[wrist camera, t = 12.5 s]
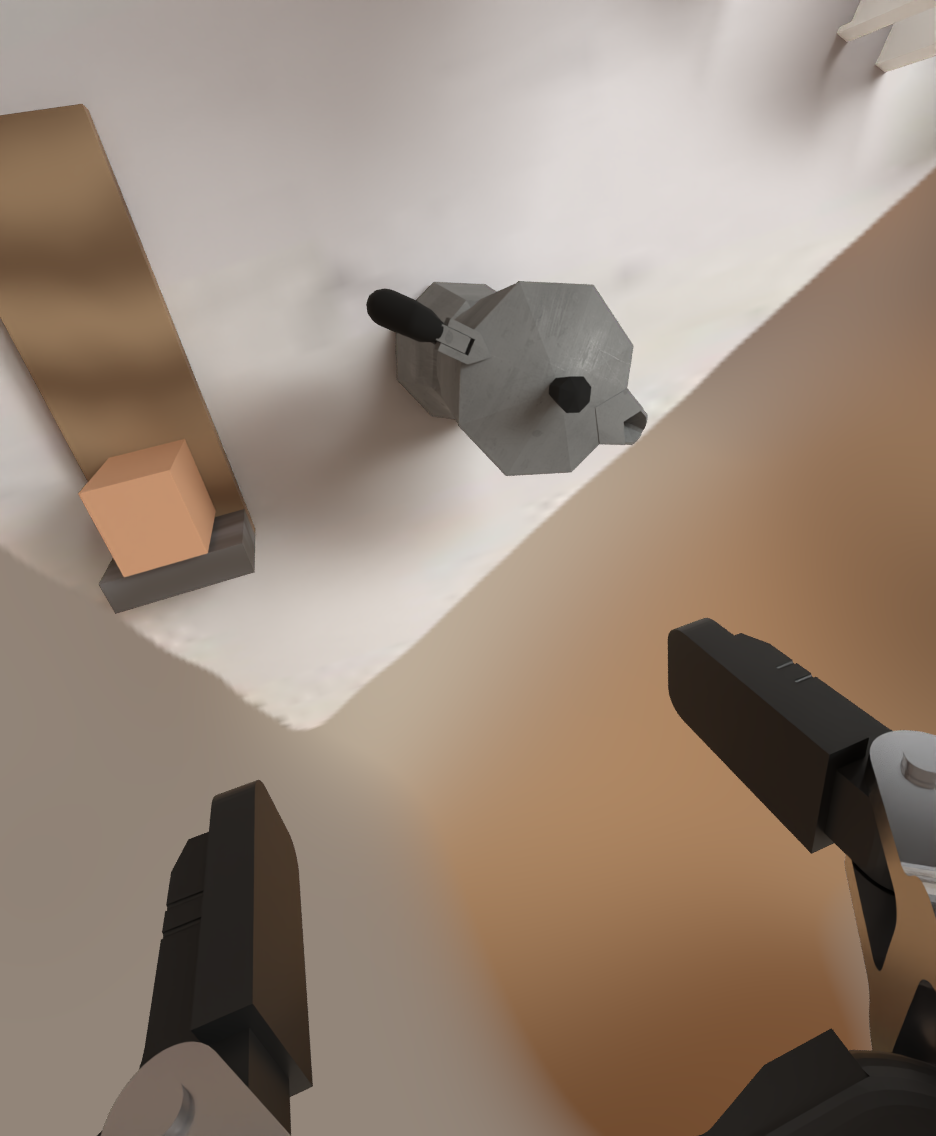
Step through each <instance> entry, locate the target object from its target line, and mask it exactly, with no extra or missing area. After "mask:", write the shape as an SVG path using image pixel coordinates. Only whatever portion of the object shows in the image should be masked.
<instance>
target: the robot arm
mask: <svg viewBox="0 0 936 1136" xmlns="http://www.w3.org/2000/svg"><path fill="white" fill-rule="evenodd" d="M668 689H669V695H670V698H671V701H672V704H673V706H674V708H675V710H676V711H677V713H678V714H679V716H680V717H681V718H682V719H683V721H684V722H685V723H686V724H687V725H688V726H689V727H690V728H691V729H692V730H693V731H694V732H695V733H696V734H697V735H698V736H699V737H700V738H701V739H702V740H703V741H704V742H705V743H706V745H707V746H708V747H710V749H711V750H712V751H713V752H714V753H715V754H716V755H717V756H718V757H719V758H720V759H721V760H722V761H723V762H724V763H725V764H726V765H727V766H728V767H729V768H730V770H732V772H733V773H734V774H735V775H736V776H737V777H738V778H739V779H740V780H741V781H742V782H743V783H744V784H745V785H746V786H747V787H748V788H749V789H750V790H751V791H752V792H753V793H754V794H755V796H756V797H757V798H758V799H759V800H760V801H761V802H762V803H763V804H764V805H765V806H766V807H767V808H768V809H769V810H770V811H771V812H772V813H773V814H774V815H775V816H776V817H777V818H778V819H779V820H780V822H781V823H782V824H783V825H784V826H785V827H786V828H787V829H788V830H789V831H790V832H791V833H792V834H793V835H794V836H795V837H796V838H797V839H798V840H799V841H800V842H801V843H802V844H803V845H804V846H805V847H806V849H807V850H808V851H809V852H810V853H814V852H816V851H818V850H820V849H823V848H825V847H827V846H829V845H831V844H833V843H835V844H836V845H837V846H838V847H839V848H840V849H841V850H842V851H843V852H844V853H845V854H846V856H845V871H846V875H847V880H848V885H849V890H850V895H851V900H852V904H853V909H854V914H855V919H856V924H857V929H858V934H859V938H860V943H861V948H862V953H863V958H864V963H865V968H866V973H867V978H868V985H869V1027H870V1038H871V1045H872V1051H867V1050H849V1051H848V1049H847V1048H846V1047H845V1045H844V1044H843V1043H842V1041H841V1040H840V1039H839V1038H838V1036H837V1035H836V1034H835V1032H834V1031H833V1030H832V1029H829V1030H828V1031H826V1032H824V1033H822V1034H820V1035H819V1036H817V1037H815V1038H813V1039H811V1040H809V1041H808V1042H806V1043H804V1044H802V1045H800V1046H798V1047H797V1048H795V1049H793V1050H791V1051H789V1052H787V1053H785V1054H784V1055H782V1056H780V1057H778V1058H776V1059H774V1060H773V1061H771V1062H769V1063H767V1064H765V1065H764V1066H763V1067H762V1068H761V1069H760V1071H759V1072H758V1073H757V1074H756V1075H755V1077H754V1078H753V1079H752V1080H751V1081H750V1083H749V1084H748V1085H747V1086H746V1087H745V1088H744V1090H743V1091H742V1092H741V1093H740V1094H739V1096H738V1097H737V1098H736V1099H735V1100H734V1102H733V1103H732V1104H731V1105H730V1106H729V1108H728V1109H727V1110H726V1111H725V1112H724V1114H723V1115H722V1116H721V1117H720V1119H719V1120H718V1121H717V1122H716V1123H715V1124H714V1126H713V1127H712V1128H711V1129H710V1130H709V1131H708V1132H706V1133H704V1134H702V1135H699V1136H936V736H935V735H932V734H928V733H923V732H918V731H908V730H902V731H901V730H900V731H892V730H890V729H889V728H887V727H886V726H884V725H883V724H881V723H880V722H879V721H877V720H875V719H874V718H873V717H872V716H870V715H869V714H867V713H866V712H865V711H863V710H862V709H860V708H859V707H858V706H856V705H855V704H853V703H852V702H851V701H849V700H848V699H846V698H845V697H844V696H842V695H841V694H839V693H838V692H836V691H835V690H834V689H832V688H831V687H830V686H828V685H827V684H825V683H824V682H823V681H821V680H820V679H818V678H817V677H814V678H813V677H812V675H811V673H810V672H809V671H807V670H806V669H804V668H803V667H801V666H800V665H799V664H797V663H796V664H794V663H793V661H792V659H790V658H789V657H787V656H786V655H785V654H783V653H782V652H780V651H779V650H778V649H776V648H775V647H773V646H772V645H771V644H769V643H766V642H764V641H761V640H758V639H755V638H753V637H750V636H747V635H744V634H742V633H740V634H737V635H735V636H734V635H733V634H731V633H730V632H728V631H727V630H726V629H725V628H723V627H722V626H720V625H719V624H718V623H717V622H715V621H714V620H712V619H710V618H704V619H701V620H698V621H695V622H692V623H690V624H687V625H684V626H681V627H679V628H676V629H674V630H671V631H670V633H669V636H668ZM166 905H167V911H165V917H164V923H163V930H162V933H163V939H162V940H161V943H160V950H159V957H158V963H157V970H156V977H155V983H154V990H153V997H152V1003H151V1010H150V1016H149V1023H148V1030H147V1037H146V1043H145V1049H144V1054H143V1058H142V1062H141V1065H140V1068H139V1070H138V1071H137V1072H136V1073H135V1075H134V1076H133V1077H132V1078H131V1079H130V1081H129V1082H128V1083H127V1084H126V1086H125V1087H124V1088H123V1090H122V1091H121V1093H120V1094H119V1096H118V1098H117V1099H116V1101H115V1103H114V1104H113V1106H112V1108H111V1110H110V1112H109V1115H108V1117H107V1119H106V1122H105V1124H104V1126H103V1130H102V1131H101V1132H100V1133H99V1134H98V1135H97V1136H291V1123H290V1122H291V1120H290V1097H291V1096H293V1095H295V1094H298V1093H299V1092H302V1091H304V1090H306V1089H308V1088H310V1087H312V1086H313V1083H312V1068H311V1052H310V1037H309V1021H308V1006H307V991H306V975H305V961H304V944H303V929H302V913H301V899H300V883H299V869H298V863H297V857H296V853H295V849H294V845H293V842H292V839H291V837H290V835H289V832H288V830H287V829H286V826H285V824H284V823H283V821H282V819H281V817H280V815H279V813H278V811H277V809H276V807H275V805H274V803H273V801H272V799H271V797H270V795H269V794H268V791H267V789H266V788H265V786H264V784H263V783H262V782H261V781H260V780H256V781H254V782H251V783H248V784H245V785H243V786H240V787H237V788H235V789H232V790H229V791H226V792H224V793H221V794H218V795H216V796H215V797H214V798H213V800H212V806H211V816H210V827H209V832H207V833H204V834H202V835H199V836H196V837H194V838H191V839H189V840H188V841H187V843H186V845H185V847H184V849H183V851H182V853H181V855H180V857H179V858H178V860H177V862H176V864H175V866H174V868H173V870H172V872H171V878H170V884H169V890H168V897H167V904H166Z"/></svg>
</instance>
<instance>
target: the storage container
mask: <svg viewBox="0 0 936 1136" xmlns="http://www.w3.org/2000/svg"><path fill="white" fill-rule="evenodd" d="M891 24H893V27H892V29H891V31H890V33H889V35H888V38H887V40H886V42H885V44H884V46H883V49H882V51H881V53H880V55H879V58H878V60H877V62H876V64H875V65H876V66H878V67H879V68H880V69H881V70H883V71H884V72H888V71H891V70H894V69H897V68H900V67H903V66H906V65H909V64H912V63H915V62H918V61H921V60H924V59H927V58H930V57H933V56H936V0H861V1H860V3H859V5H858V7H857V10H856V12H855V14H854V17H853V19H852V21H851V22H849V23H847V24H845V25H843V26H840V27H839V30H838V32H837V34H838V35H839V36H840V37H842V38H843V39H844V40H845V41H846V42H849V41H852V40H854V39H857V38H859V37H862V36H864V35H867V34H869V33H872V32H874V31H876V30H879V29H881V28H884V27H886V26H889V25H891Z"/></svg>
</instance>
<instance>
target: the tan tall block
mask: <svg viewBox="0 0 936 1136" xmlns="http://www.w3.org/2000/svg"><path fill="white" fill-rule="evenodd" d="M78 494H79V496H80V498H81V500H82V502H83V503H84V505H85V507H86V509H87V511H88V513H89V514H90V516H91V518H92V520H93V522H94V523H95V525H96V527H97V529H98V531H99V533H100V534H101V536H102V538H103V540H104V542H105V544H106V545H107V547H108V549H109V551H110V553H111V555H112V556H113V558H114V560H115V562H116V564H117V566H118V567H119V569H120V571H121V573H122V575H123V576H124V577H127V576H131V575H134V574H138V573H141V572H145V571H148V570H152V569H155V568H158V567H162V566H165V565H169V564H172V563H176V562H179V561H183V560H186V559H190V558H193V557H197V556H200V555H204V554H207V553H208V549H209V544H210V539H211V534H212V529H213V523H214V518H215V513H216V510H215V508H214V506H213V503H212V501H211V499H210V496H209V494H208V492H207V489H206V487H205V485H204V482H203V480H202V478H201V475H200V473H199V471H198V468H197V466H196V464H195V461H194V459H193V457H192V454H191V452H190V450H189V447H188V445H187V443H186V440H185V439H182V440H178V441H174V442H170V443H166V444H162V445H158V446H154V447H150V448H146V449H142V450H138V451H134V452H130V453H126V454H122V455H118V456H114V457H110V458H108V459H107V461H106V462H105V463H104V464H103V465H102V466H101V468H100V469H99V470H98V471H97V472H96V473H95V475H94V476H93V477H92V478H91V479H90V480H89V482H88V483H87V484H86V485H85V486H84V487H83V489H82V490H81V491H80V492H79V493H78Z"/></svg>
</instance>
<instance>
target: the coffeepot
mask: <svg viewBox="0 0 936 1136" xmlns="http://www.w3.org/2000/svg"><path fill="white" fill-rule="evenodd" d="M366 306H367V312H368V314H369V316H370V317H371V319H372V320H373V321H374V322H375V323H377V324H378V325H380V326H382V327H385V328H387V329H389V330H392V331H394V332H396V359H397V380H398V381H399V382H400V383H401V384H402V385H403V386H404V388H405V389H406V390H407V391H408V392H409V393H410V394H411V395H412V396H413V397H414V398H415V399H416V400H417V401H418V402H419V403H420V404H421V405H422V406H423V407H424V408H425V409H426V410H427V411H428V412H429V413H430V414H431V415H432V416H435V417H442V418H450V419H455V420H456V421H457V423H458V426H459V427H460V428H461V429H462V430H463V431H464V432H465V433H466V434H467V435H468V436H469V437H470V439H471V440H472V441H473V442H474V443H475V444H476V445H477V446H478V447H479V448H480V449H481V450H482V451H483V452H484V453H485V454H486V455H487V457H488V458H489V459H490V460H491V461H492V462H493V463H494V464H495V465H496V466H497V467H498V468H499V469H500V470H501V471H502V472H503V473H504V474H505V475H506V476H515V475H533V474H550V473H568V472H572V471H573V470H574V469H575V468H576V467H577V466H578V465H579V464H580V463H581V462H582V461H583V460H584V459H585V458H586V457H587V456H588V455H589V454H590V453H591V452H592V451H593V450H594V449H595V448H596V447H597V446H598V445H599V444H609V445H632V444H634V443H635V442H636V441H637V440H638V439H639V438H640V436H641V433H642V431H643V430H644V428H645V426H646V423H647V413H646V412H645V411H644V410H643V408H642V406H641V405H640V404H639V403H638V401H637V400H636V399H635V398H634V396H633V395H632V394H631V392H630V391H629V390H628V389H627V385H628V379H629V372H630V365H631V359H632V352H633V344H632V343H631V341H630V340H629V338H628V337H627V335H626V334H625V332H624V331H623V329H622V327H621V326H620V324H619V323H618V321H617V320H616V318H615V317H614V315H613V314H612V312H611V311H610V309H609V308H608V306H607V305H606V303H605V302H604V300H603V298H602V297H601V295H600V294H599V292H598V291H597V289H596V288H595V286H594V285H587V284H566V283H545V282H524V281H518V282H517V283H516V284H514V285H511V286H509V287H507V288H504V289H502V290H500V291H498V292H496V291H495V290H493V289H492V288H490V287H489V286H487V285H486V284H466V283H444V282H433V283H432V284H431V286H430V287H429V288H428V289H427V290H426V291H425V292H424V293H423V294H422V295H421V296H420V297H419V298H418V299H417V300H414V299H411V298H409V297H407V296H405V295H402V294H400V293H398V292H396V291H393V290H390V289H380V290H376V291H374V292H373V293H372V294H371V295H369V298H368V301H367V303H366Z"/></svg>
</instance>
